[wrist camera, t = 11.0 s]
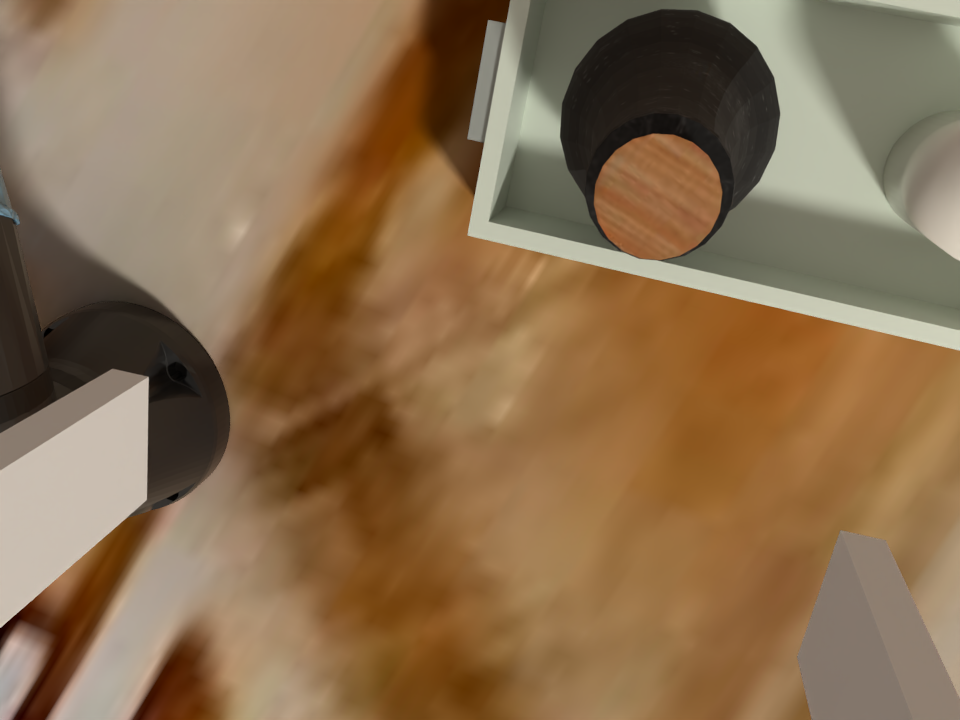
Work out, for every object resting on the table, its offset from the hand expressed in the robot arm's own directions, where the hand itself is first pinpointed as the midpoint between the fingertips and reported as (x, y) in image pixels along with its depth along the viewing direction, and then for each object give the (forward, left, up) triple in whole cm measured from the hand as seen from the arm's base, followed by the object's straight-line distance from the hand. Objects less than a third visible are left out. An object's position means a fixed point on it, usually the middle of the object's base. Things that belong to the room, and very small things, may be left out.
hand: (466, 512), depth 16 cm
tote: (+8, +5, -38) cm, 39 cm away
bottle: (+2, +5, -38) cm, 38 cm away
